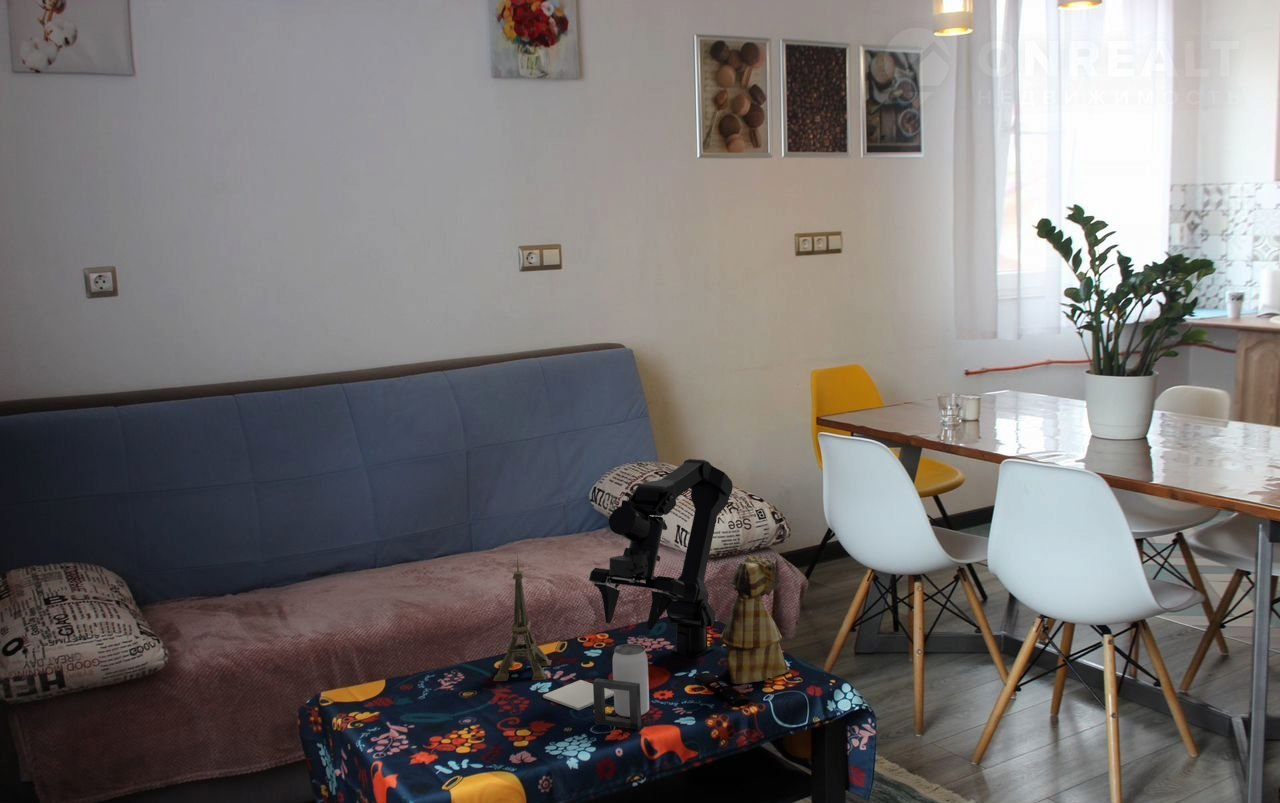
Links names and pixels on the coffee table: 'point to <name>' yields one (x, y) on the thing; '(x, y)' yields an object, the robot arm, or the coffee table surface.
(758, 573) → the plush toy
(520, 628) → the eiffel tower
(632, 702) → the dark grey square frame
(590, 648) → the coffee table surface
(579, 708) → the pad
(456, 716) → the coffee table surface
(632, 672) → the can
